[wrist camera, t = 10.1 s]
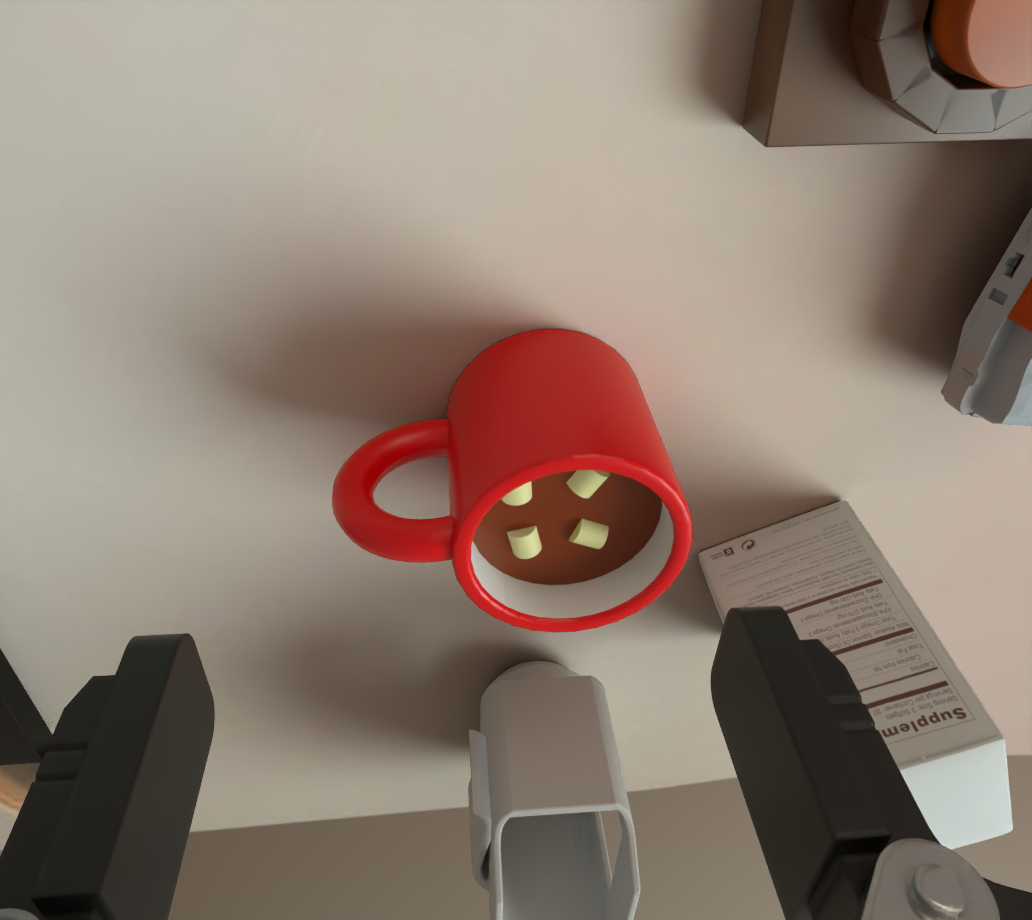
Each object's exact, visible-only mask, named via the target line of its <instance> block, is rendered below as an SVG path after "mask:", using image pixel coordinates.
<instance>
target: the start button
mask: <svg viewBox="0 0 1032 920" xmlns="http://www.w3.org/2000/svg"><path fill="white" fill-rule="evenodd" d="M931 36H932V41H933V45H934V48H935V50H936V52H937V54H938V56H939V57H940V59H941V60H942V62H943V63H944V64H946V65H947V66H948V67H949V68H951V69H952V70H954V71H956V72H958V73H961V74H963V75H966V76H968V77H971V78H973V79H976V80H978V81H981V82H983V83H986V84H988V85H991V86H993V87H998V88H1005V89H1013V88H1020V87H1025V86H1029V85H1032V0H934V3H933V7H932V13H931Z"/></svg>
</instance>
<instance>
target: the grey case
mask: <svg viewBox="0 0 1032 920" xmlns="http://www.w3.org/2000/svg"><path fill="white" fill-rule="evenodd" d="M941 394H942V395H943V396H944V399H945V401H946V402H947V403H949V404H950V405H951V406H953V407H954V408H955V409H957V410H958V411H959V412H961V413H962V414H963V415H966V414H970V415H971V416H974V417H982V418H984V419H986V420H988V421H989V422H991V423H995V424H1009V425H1025V426H1032V208H1031V210H1030V211H1029V213H1028V215H1027V216H1026V218H1025V220H1024V221H1023V223H1022V225H1021V227H1020V228H1019V230H1018V232H1017V233H1016V235H1015V237H1014V238H1013V240H1012V242H1011V244H1010V245H1009V247H1008V249H1007V250H1006V252H1005V254H1004V255H1003V257H1002V259H1001V261H1000V262H999V264H998V266H997V267H996V269H995V271H994V272H993V274H992V276H991V277H990V279H989V281H988V283H987V284H986V286H985V288H984V289H983V291H982V293H981V294H980V296H979V298H978V300H977V301H976V303H975V305H974V306H973V308H972V310H971V312H970V313H969V315H968V317H967V319H966V321H965V323H964V325H963V329H962V333H961V337H960V341H959V345H958V349H957V354H956V356H955V359H954V362H953V365H952V368H951V370H950V373H949V375H948V378H947V380H946V382H945V385H944V387H943V389H942V391H941Z"/></svg>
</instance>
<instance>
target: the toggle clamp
mask: <svg viewBox="0 0 1032 920" xmlns="http://www.w3.org/2000/svg"><path fill="white" fill-rule="evenodd" d="M52 736H53V735H52V733H51V732H50V730H49V729H48V727H47V725H46V724H45V722H44V720H43V719H42V717H41V715H40V714H39V712H38V710H37V709H36V707H35V705H34V704H33V702H32V700H31V699H30V697H29V695H28V694H27V692H26V690H25V689H24V687H23V686H22V684H21V682H20V681H19V679H18V677H17V676H16V674H15V672H14V671H13V669H12V667H11V666H10V664H9V662H8V661H7V659H6V657H5V656H4V654H3V652H2V651H1V649H0V765H11V764H24V763H36V762H41V761H42V759H43V756H44V754H45V752H47V751H48V748H49V743H50V740H51V738H52Z"/></svg>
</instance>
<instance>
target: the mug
mask: <svg viewBox="0 0 1032 920" xmlns="http://www.w3.org/2000/svg"><path fill="white" fill-rule="evenodd" d="M439 456H448V466H449V495H450V516H446V517H441V518H434V519H422V520H421V519H406V518H401V517H397V516H394V515H391V514H389V513H387V512H385V511H384V510H382V509H381V508H380V507H378V506H377V505H376V504H375V502H374V498H373V493H374V490H375V488H376V486H377V485H378V483H379V482H380V481H381V479H382V478H383V477H384V476H385V475H387V474H388V473H389V472H391V471H393V470H394V469H396V468H398V467H400V466H402V465H404V464H407V463H409V462H413V461H416V460H419V459H424V458H430V457H439ZM332 507H333V513H334V515H335V518H336V520H337V522H338V523H339V525H340V526H341V528H342V529H343V531H344V532H345V534H346V535H347V536H348V537H349V538H350V539H351V540H352V541H353V542H354V543H356V544H357V545H358V546H360V547H361V548H363V549H365V550H366V551H368V552H370V553H373V554H375V555H378V556H381V557H384V558H388V559H392V560H397V561H405V562H437V561H444V560H450V559H452V564H453V568H454V571H455V575H456V578H457V580H458V582H459V584H460V585H461V587H462V589H463V590H464V592H465V593H466V595H467V596H468V597H469V598H470V599H471V600H472V601H473V602H474V603H475V604H476V605H477V606H478V607H479V608H480V609H482V610H483V611H485V612H486V613H488V614H489V615H491V616H493V617H494V618H496V619H499V620H501V621H503V622H506V623H508V624H511V625H513V626H517V627H521V628H525V629H530V630H533V631H545V632H575V631H580V630H586V629H592V628H597V627H600V626H603V625H607V624H610V623H613V622H617V621H618V620H621V619H623V618H625V617H627V616H629V615H631V614H634V613H636V612H637V611H639V610H640V609H642V608H643V607H645V606H646V605H648V604H650V603H651V602H653V601H654V600H655V599H656V598H657V597H658V596H660V595H661V594H662V593H663V592H664V591H665V590H666V589H668V588H669V586H670V585H671V584H672V582H673V581H674V580H675V579H676V577H677V576H678V575H679V574H680V572H681V570H682V568H683V566H684V564H685V562H686V560H687V558H688V556H689V552H690V548H691V543H692V538H693V530H692V517H691V514H690V511H689V507H688V504H687V501H686V499H685V496H684V494H683V492H682V489H681V487H680V484H679V482H678V479H677V477H676V474H675V472H674V469H673V467H672V464H671V462H670V459H669V457H668V454H667V452H666V449H665V447H664V444H663V442H662V439H661V437H660V435H659V432H658V430H657V427H656V425H655V422H654V420H653V417H652V415H651V412H650V410H649V407H648V405H647V402H646V400H645V397H644V395H643V392H642V390H641V387H640V385H639V383H638V380H637V378H636V375H635V374H634V372H633V371H632V369H631V367H630V366H629V364H628V362H627V361H626V360H625V359H624V358H623V357H622V356H621V355H620V354H619V353H618V352H617V351H616V350H615V349H613V348H612V347H610V346H609V345H607V344H606V343H604V342H602V341H601V340H599V339H597V338H594V337H591V336H589V335H586V334H584V333H580V332H575V331H569V330H563V329H540V330H535V331H530V332H524V333H520V334H517V335H514V336H512V337H509V338H506V339H504V340H501V341H499V342H498V343H496V344H494V345H493V346H491V347H489V348H488V349H486V350H484V351H483V352H482V353H481V354H480V355H478V356H477V357H476V358H475V359H474V360H473V361H472V362H470V363H469V365H468V366H467V367H466V368H465V370H464V371H463V372H462V374H461V375H460V376H459V378H458V379H457V381H456V384H455V386H454V388H453V390H452V392H451V394H450V399H449V403H448V408H447V419H435V420H426V421H419V422H414V423H409V424H406V425H402V426H399V427H396V428H394V429H391V430H388V431H386V432H384V433H382V434H380V435H378V436H376V437H374V438H373V439H371V440H369V441H368V442H367V443H365V444H364V445H362V446H361V447H360V448H359V449H358V450H357V451H356V452H355V453H353V454H352V455H351V456H350V457H349V458H348V460H347V461H346V462H345V463H344V464H343V466H342V467H341V469H340V470H339V472H338V474H337V476H336V479H335V482H334V486H333V495H332Z"/></svg>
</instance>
